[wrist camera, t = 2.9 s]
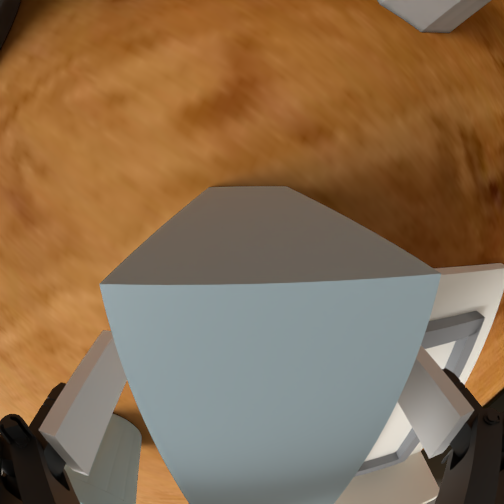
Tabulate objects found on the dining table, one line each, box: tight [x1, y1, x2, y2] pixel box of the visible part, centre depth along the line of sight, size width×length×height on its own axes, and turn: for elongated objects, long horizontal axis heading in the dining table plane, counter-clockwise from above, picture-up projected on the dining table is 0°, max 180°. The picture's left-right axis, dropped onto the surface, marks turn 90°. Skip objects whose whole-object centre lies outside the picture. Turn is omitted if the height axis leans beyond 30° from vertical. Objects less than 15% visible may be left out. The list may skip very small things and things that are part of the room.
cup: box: [64, 413, 142, 504], centre depth 15 cm, size 8×8×10 cm
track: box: [334, 263, 504, 504], centre depth 16 cm, size 28×16×9 cm, turn 0°
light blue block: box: [100, 186, 441, 504], centre depth 11 cm, size 14×4×12 cm, turn 0°
